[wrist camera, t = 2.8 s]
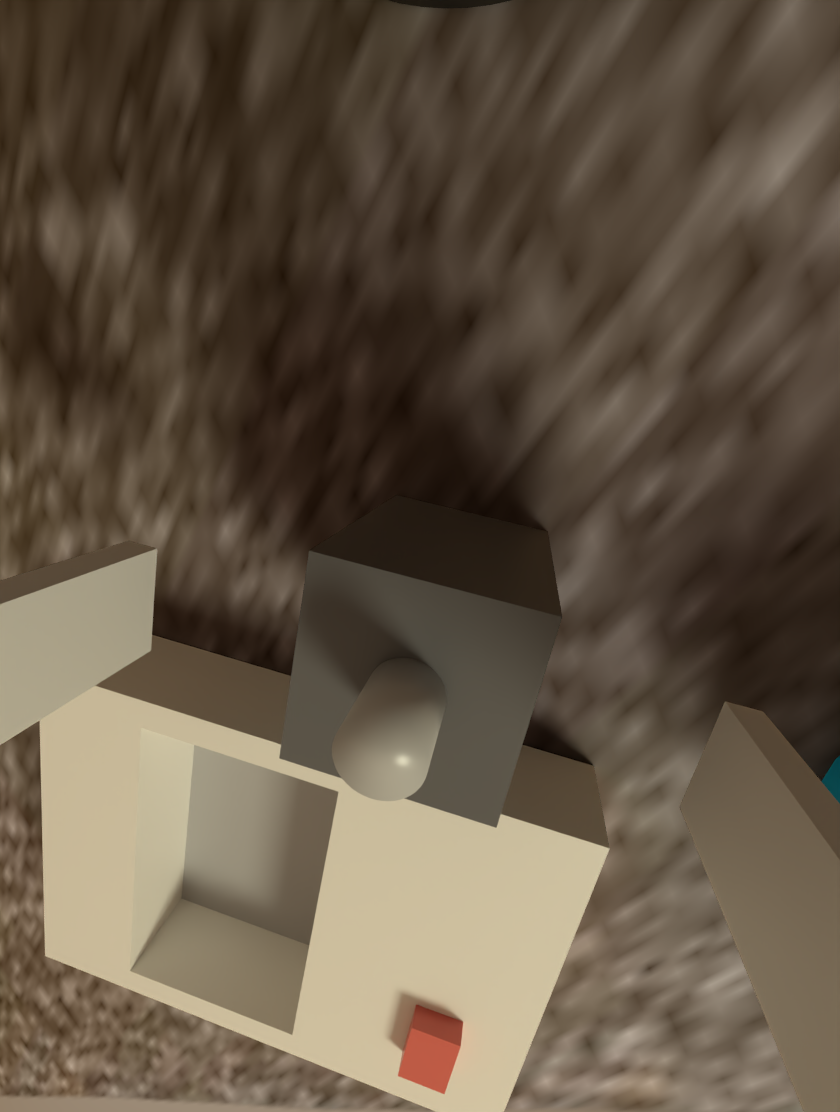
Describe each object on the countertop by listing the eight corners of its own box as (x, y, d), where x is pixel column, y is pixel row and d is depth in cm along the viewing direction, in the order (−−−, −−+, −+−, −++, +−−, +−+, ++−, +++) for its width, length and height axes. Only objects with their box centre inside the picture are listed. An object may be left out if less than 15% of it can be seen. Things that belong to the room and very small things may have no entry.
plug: (396, 494, 16) (257, 584, 8) (547, 531, 16) (571, 670, 7) (370, 630, 18) (228, 828, 9) (508, 668, 17) (490, 917, 9)
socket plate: (119, 625, 20) (17, 678, 16) (593, 765, 18) (613, 869, 14) (112, 880, 24) (29, 974, 20) (499, 1022, 21) (493, 1162, 17)
